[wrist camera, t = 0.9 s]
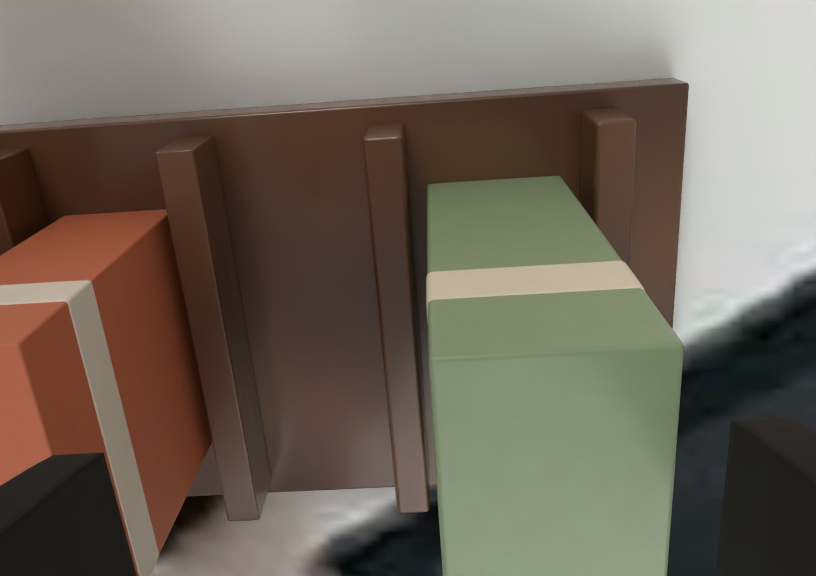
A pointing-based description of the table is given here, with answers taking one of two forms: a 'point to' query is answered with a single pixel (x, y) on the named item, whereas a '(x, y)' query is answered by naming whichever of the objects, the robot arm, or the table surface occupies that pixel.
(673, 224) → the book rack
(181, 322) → the terracotta book
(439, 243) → the green book
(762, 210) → the table surface
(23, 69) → the table surface
